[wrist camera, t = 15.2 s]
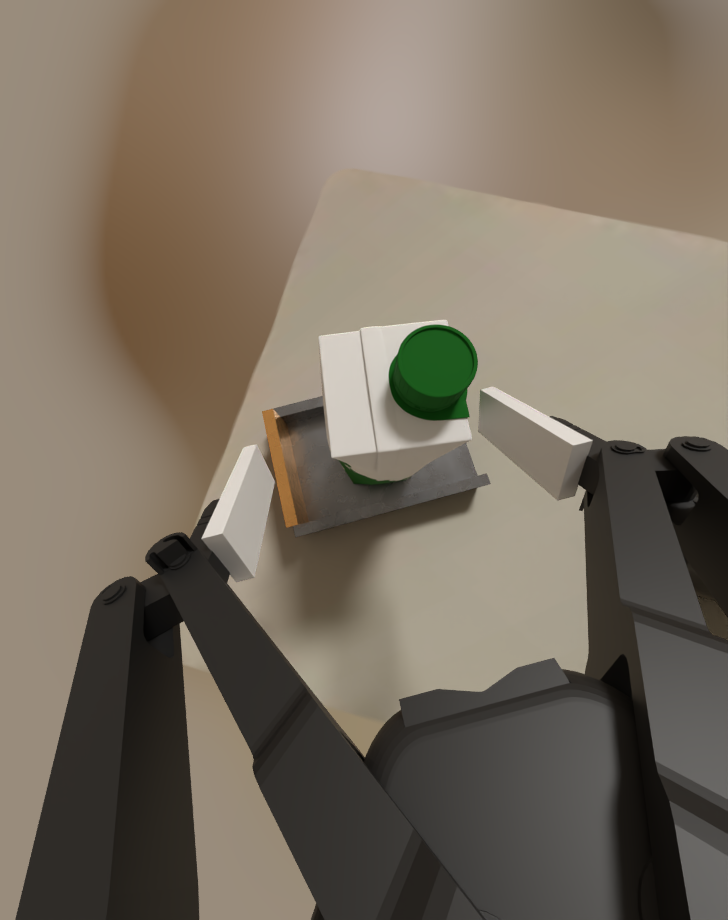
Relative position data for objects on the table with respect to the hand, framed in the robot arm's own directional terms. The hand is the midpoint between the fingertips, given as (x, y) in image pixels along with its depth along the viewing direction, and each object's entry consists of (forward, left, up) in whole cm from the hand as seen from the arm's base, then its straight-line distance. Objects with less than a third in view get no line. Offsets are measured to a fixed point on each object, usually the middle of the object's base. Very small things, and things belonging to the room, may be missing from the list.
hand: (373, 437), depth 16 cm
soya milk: (+1, -3, -17) cm, 17 cm away
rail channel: (+1, -3, -18) cm, 18 cm away
